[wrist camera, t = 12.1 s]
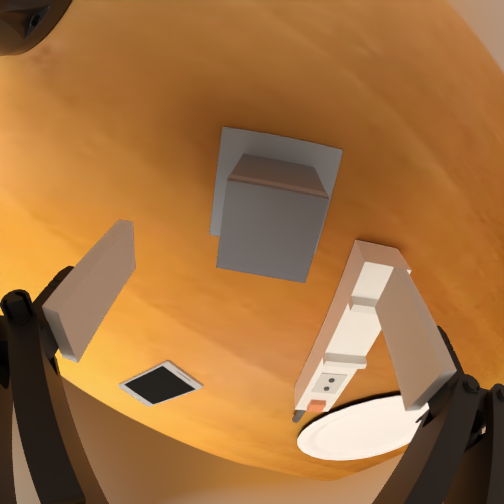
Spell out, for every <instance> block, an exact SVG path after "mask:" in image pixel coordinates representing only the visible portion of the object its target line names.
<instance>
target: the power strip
mask: <svg viewBox="0 0 504 504" xmlns="http://www.w3.org/2000/svg"><path fill="white" fill-rule="evenodd" d="M394 267H397V268H402V269H406V270H407V272H408V273H409V275H410V272H411V269H410V267H409V266H408V264H407V262H406V261H405V259H404V258H403V256H402V255H401V253H400V251H399V250H398V249H397V248H393V247H388V246H383V245H379V244H374V243H370V242H365V241H360V240H355V242H354V245H353V248H352V250H351V253H350V256H349V259H348V262H347V264H346V267H345V270H344V272H343V275H342V278H341V280H340V283H339V286H338V288H337V291H336V293H335V296H334V298H333V301H332V303H331V306H330V308H329V311H328V313H327V316H326V318H325V320H324V323H323V325H322V328H321V330H320V332H319V335H318V337H317V339H316V341H315V344H314V346H313V348H312V350H311V353H310V355H309V357H308V359H307V361H306V364H305V366H304V368H303V370H302V372H301V374H300V376H299V378H298V380H297V383H296V385H295V409H296V410H297V411H296V413H295V415H294V416H293V418H292V421H293V422H295V423H297V422H299V420H300V419H301V417H302V416H303V414H304V413H305V411H306V410H307V412H319V413H321V412H322V411H323V412H328V411H329V409H330V408H331V407H332V405H333V404H334V403H335V401H336V400H337V398H338V397H339V396H340V394H341V393H342V391H343V390H344V388H345V387H346V385H347V384H348V382H349V381H350V379H351V378H352V376H353V375H354V373H355V372H356V370H357V369H365V367H366V365H367V362H366V357H365V356H366V354H367V353H368V351H369V349H370V348H371V346H372V344H373V343H374V341H375V339H376V337H377V336H378V334H379V332H380V331H381V329H382V328H381V325H380V322H379V319H378V316H377V314H376V311H375V306H376V304H377V302H378V300H379V298H380V296H381V294H382V292H383V290H384V288H385V285H386V283H387V281H388V279H389V277H390V275H391V273H392V270H393V268H394Z"/></svg>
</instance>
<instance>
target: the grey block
mask: <svg viewBox="0 0 504 504" xmlns="http://www.w3.org/2000/svg"><path fill="white" fill-rule="evenodd" d="M328 203H329V195H328V193H326V191H325V189H324V187H323V185H322V183H321V180H320V178H319V176H318V174H317V172H316V170H315V168H314V167H310V166H305V165H300V164H295V163H290V162H285V161H280V160H275V159H269V158H264V157H258V156H252V155H246V154H243V155H242V156H241V158H240V159H239V161H238V163H237V164H236V166H235V168H234V169H233V171H232V173H231V174H229V175H228V177H227V183H226V190H225V198H224V206H223V214H222V222H221V230H220V239H219V247H218V256H217V265H216V267H217V268H222V269H228V270H233V271H239V272H244V273H250V274H255V275H261V276H267V277H272V278H278V279H284V280H290V281H295V282H301V283H305V282H306V278H307V275H308V272H309V269H310V265H311V262H312V259H313V256H314V252H315V249H316V245H317V242H318V239H319V235H320V232H321V228H322V225H323V221H324V217H325V214H326V210H327V207H328Z"/></svg>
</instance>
